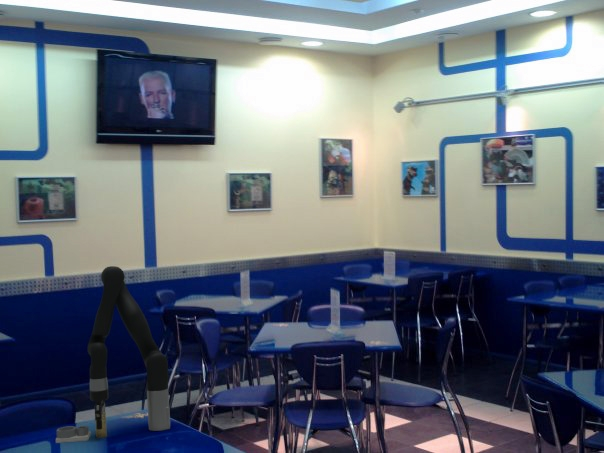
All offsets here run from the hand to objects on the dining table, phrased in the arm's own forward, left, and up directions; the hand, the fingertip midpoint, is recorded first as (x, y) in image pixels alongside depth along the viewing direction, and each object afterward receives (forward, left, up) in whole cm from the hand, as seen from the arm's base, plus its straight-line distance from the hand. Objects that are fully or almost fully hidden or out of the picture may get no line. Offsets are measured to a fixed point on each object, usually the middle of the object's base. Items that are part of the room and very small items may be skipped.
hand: (100, 426), depth 328 cm
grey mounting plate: (+11, 0, -4) cm, 12 cm away
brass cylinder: (0, 0, -4) cm, 4 cm away
